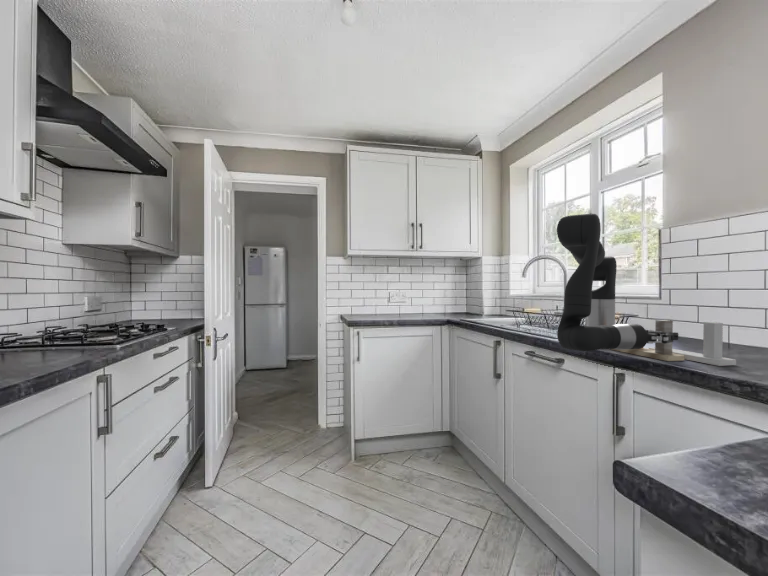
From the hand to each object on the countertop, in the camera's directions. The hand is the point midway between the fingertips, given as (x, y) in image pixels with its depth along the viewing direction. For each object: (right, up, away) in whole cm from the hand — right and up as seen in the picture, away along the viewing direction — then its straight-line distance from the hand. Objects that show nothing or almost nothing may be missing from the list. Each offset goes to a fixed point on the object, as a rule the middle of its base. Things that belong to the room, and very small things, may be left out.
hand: (671, 335), depth 118 cm
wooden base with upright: (-4, -7, +6) cm, 10 cm away
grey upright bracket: (+5, -7, 0) cm, 9 cm away
